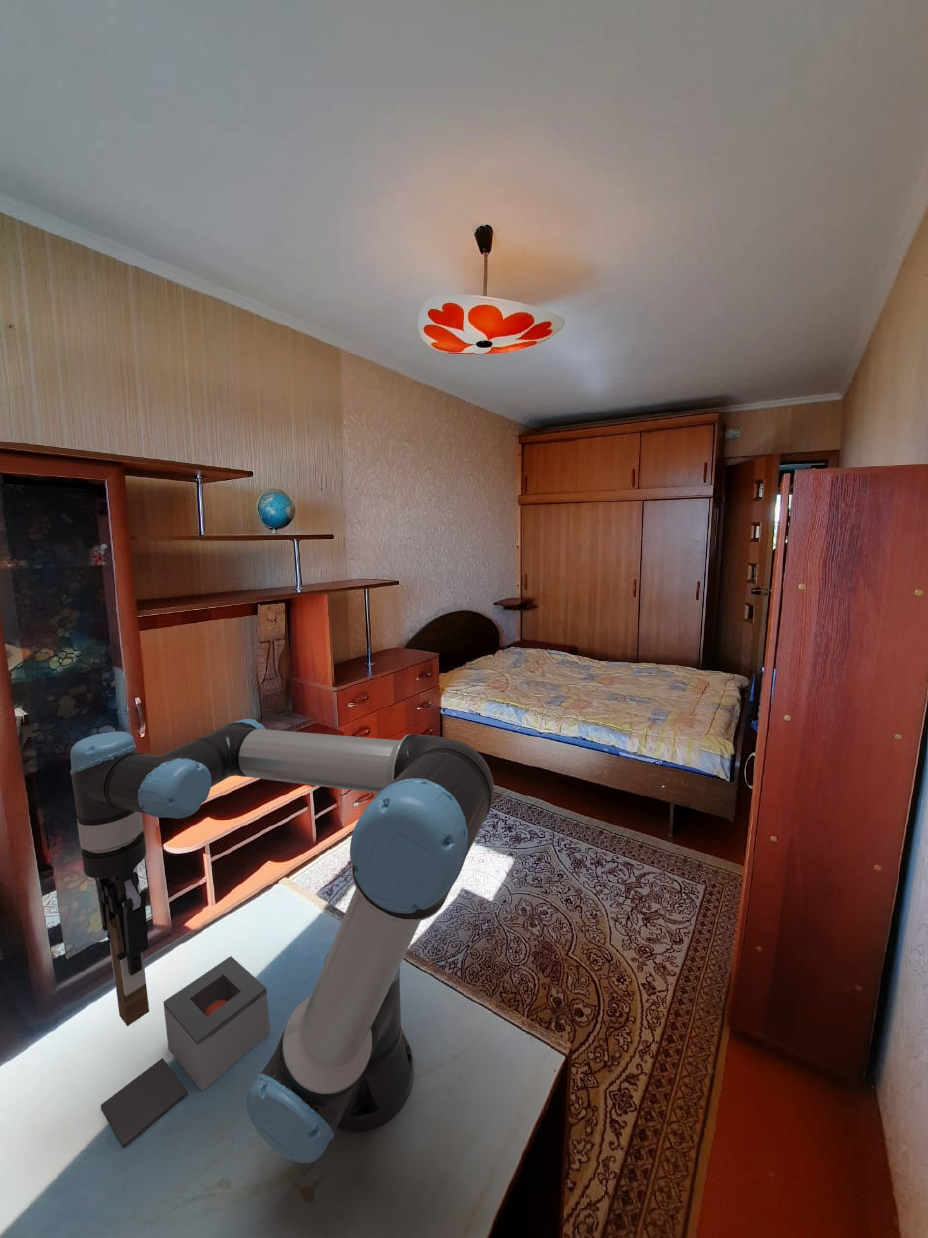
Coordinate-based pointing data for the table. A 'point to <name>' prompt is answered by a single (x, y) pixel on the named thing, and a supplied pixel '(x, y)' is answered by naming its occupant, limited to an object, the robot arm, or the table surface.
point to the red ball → (214, 1007)
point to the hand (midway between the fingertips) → (130, 982)
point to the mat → (143, 1101)
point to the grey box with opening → (216, 1021)
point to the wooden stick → (135, 1001)
